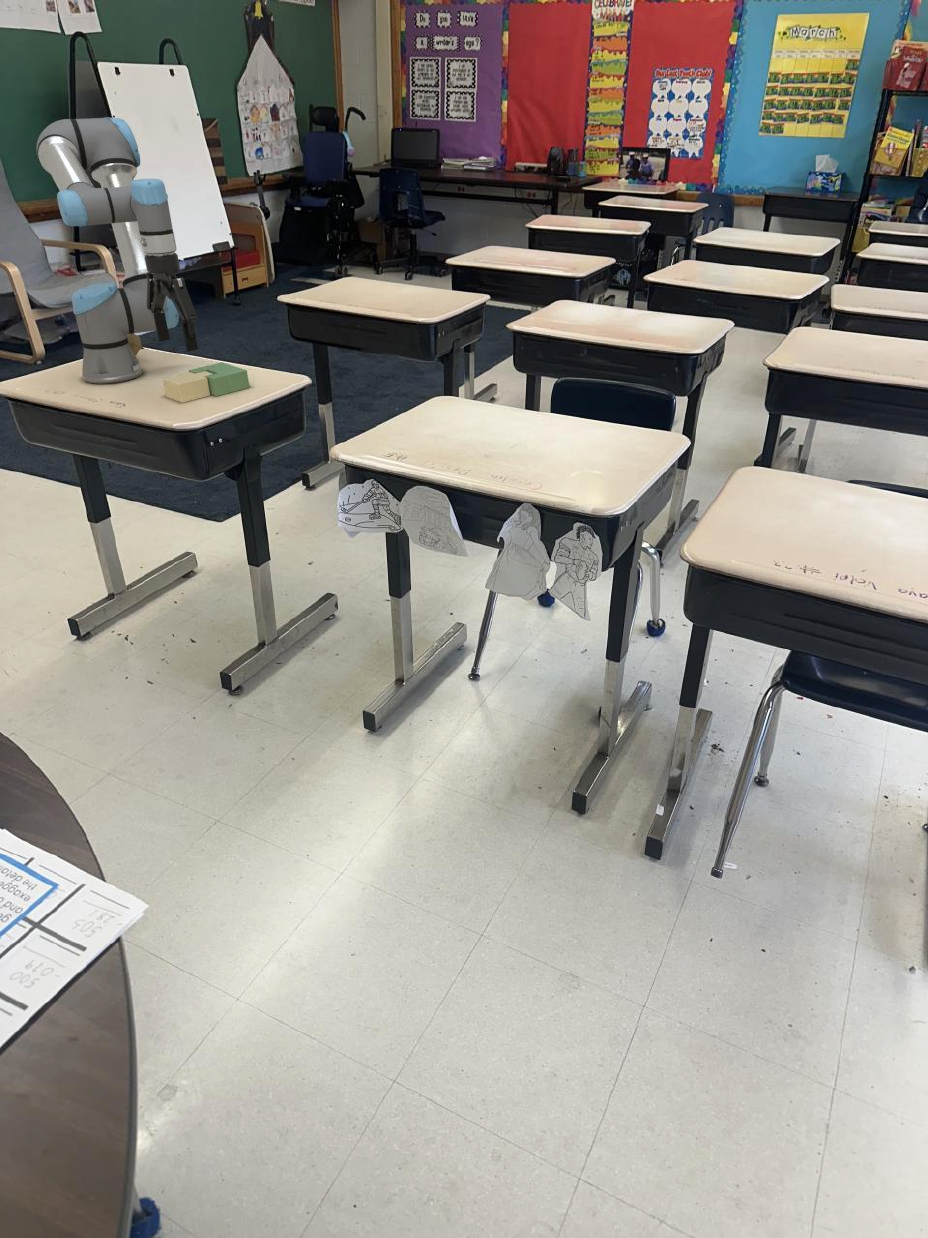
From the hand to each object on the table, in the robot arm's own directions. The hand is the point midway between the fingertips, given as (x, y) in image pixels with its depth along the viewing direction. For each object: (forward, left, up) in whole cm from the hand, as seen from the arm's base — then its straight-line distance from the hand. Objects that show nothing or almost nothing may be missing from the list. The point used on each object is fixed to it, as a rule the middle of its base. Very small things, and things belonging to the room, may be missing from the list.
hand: (178, 345), depth 212 cm
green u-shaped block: (0, +9, -13) cm, 16 cm away
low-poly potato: (-46, +5, -13) cm, 48 cm away
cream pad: (+1, +1, -13) cm, 13 cm away
